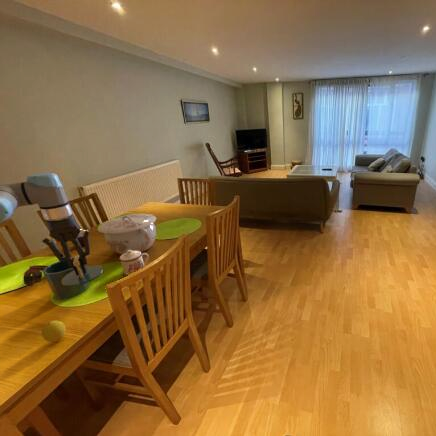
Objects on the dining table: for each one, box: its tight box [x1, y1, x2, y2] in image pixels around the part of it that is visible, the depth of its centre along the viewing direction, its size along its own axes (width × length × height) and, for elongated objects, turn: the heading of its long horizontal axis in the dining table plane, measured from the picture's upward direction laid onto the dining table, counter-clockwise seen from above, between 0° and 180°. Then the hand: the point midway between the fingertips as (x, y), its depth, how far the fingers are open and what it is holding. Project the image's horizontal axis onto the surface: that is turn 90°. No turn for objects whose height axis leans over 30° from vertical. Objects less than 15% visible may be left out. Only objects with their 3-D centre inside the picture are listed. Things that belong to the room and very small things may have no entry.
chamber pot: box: [97, 213, 157, 255], centre depth 135 cm, size 28×28×21 cm
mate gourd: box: [77, 233, 84, 247], centre depth 140 cm, size 8×8×15 cm
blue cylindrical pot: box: [42, 260, 90, 300], centre depth 103 cm, size 12×12×13 cm
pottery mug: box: [22, 264, 49, 286], centre depth 111 cm, size 12×10×8 cm
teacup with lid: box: [119, 250, 150, 276], centre depth 117 cm, size 12×9×12 cm
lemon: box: [41, 320, 67, 343], centre depth 80 cm, size 6×6×8 cm
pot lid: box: [61, 254, 104, 286], centre depth 93 cm, size 13×13×8 cm
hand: (82, 272), depth 94 cm, fingers closed on pot lid, 1 cm apart
